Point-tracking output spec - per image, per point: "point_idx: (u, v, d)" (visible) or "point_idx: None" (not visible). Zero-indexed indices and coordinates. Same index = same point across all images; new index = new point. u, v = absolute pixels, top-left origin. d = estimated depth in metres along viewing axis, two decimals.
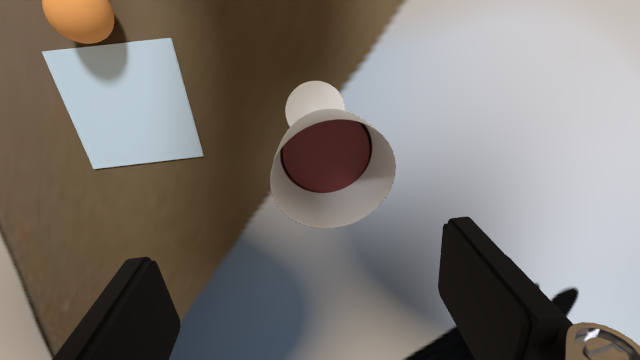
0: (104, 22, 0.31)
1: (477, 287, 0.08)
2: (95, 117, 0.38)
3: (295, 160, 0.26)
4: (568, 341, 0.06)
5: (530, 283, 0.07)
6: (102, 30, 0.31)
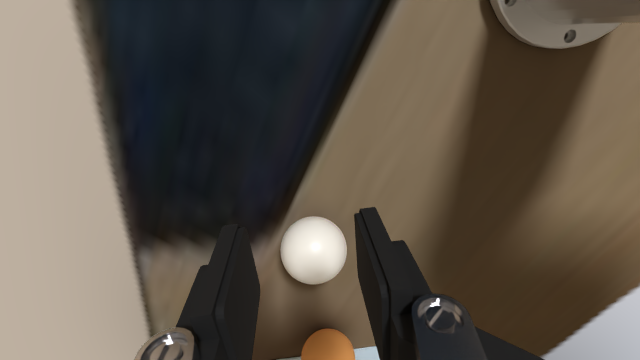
0: None
1: (367, 268, 0.09)
2: None
3: None
4: (412, 308, 0.07)
5: (399, 262, 0.08)
6: None
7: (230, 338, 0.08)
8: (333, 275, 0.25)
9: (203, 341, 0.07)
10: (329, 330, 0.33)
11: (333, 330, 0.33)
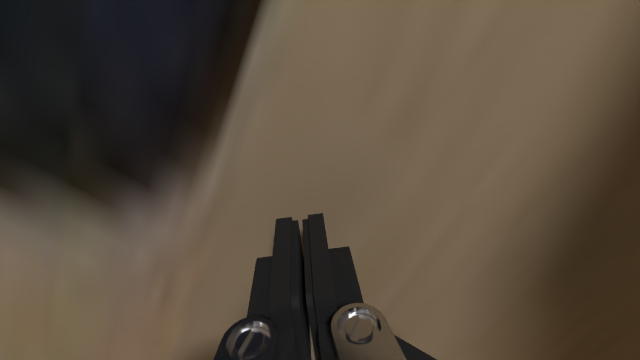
0: None
1: None
2: None
3: None
4: (333, 318, 0.07)
5: (330, 270, 0.08)
6: None
7: (303, 328, 0.08)
8: None
9: (278, 330, 0.07)
10: None
11: None
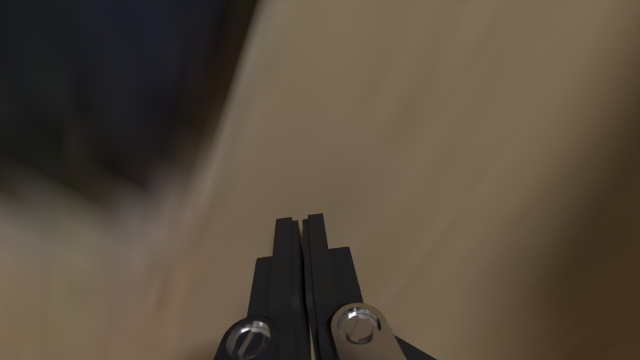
0: None
1: None
2: None
3: None
4: (333, 318, 0.07)
5: (330, 270, 0.08)
6: None
7: (303, 328, 0.08)
8: None
9: (278, 330, 0.07)
10: None
11: None
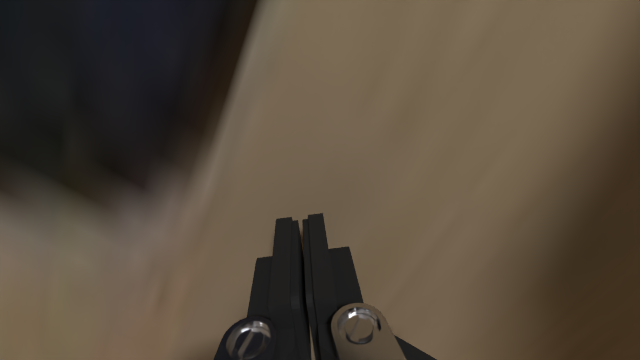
0: None
1: None
2: None
3: None
4: (333, 318, 0.07)
5: (330, 270, 0.08)
6: None
7: (303, 328, 0.08)
8: None
9: (278, 330, 0.07)
10: None
11: None
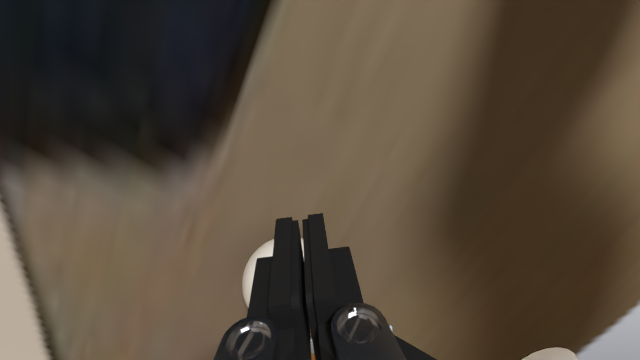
0: None
1: None
2: None
3: None
4: (333, 318, 0.07)
5: (330, 270, 0.08)
6: None
7: (303, 328, 0.08)
8: None
9: (278, 330, 0.07)
10: None
11: None
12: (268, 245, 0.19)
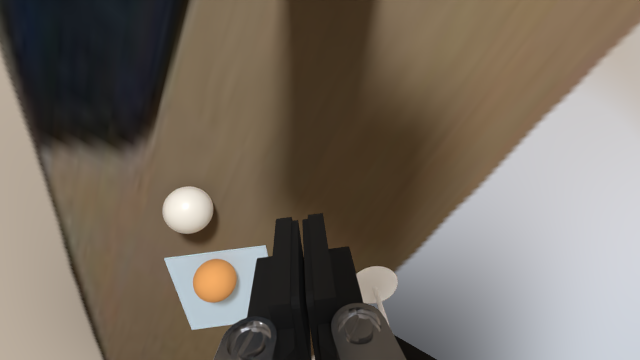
0: None
1: None
2: None
3: None
4: (333, 318, 0.07)
5: (330, 270, 0.08)
6: None
7: (303, 328, 0.08)
8: None
9: (278, 330, 0.07)
10: (213, 293, 0.40)
11: (217, 290, 0.40)
12: (176, 189, 0.37)
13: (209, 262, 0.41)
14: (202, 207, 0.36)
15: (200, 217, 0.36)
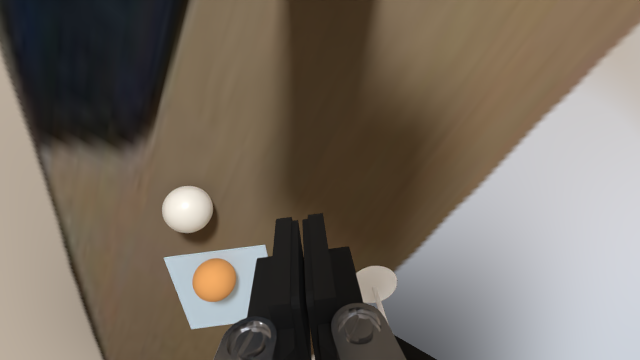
0: None
1: None
2: None
3: None
4: (333, 318, 0.07)
5: (330, 270, 0.08)
6: None
7: (303, 327, 0.08)
8: None
9: (278, 330, 0.07)
10: (213, 292, 0.40)
11: (216, 290, 0.40)
12: (175, 189, 0.37)
13: (208, 261, 0.41)
14: (201, 206, 0.36)
15: (200, 216, 0.36)
